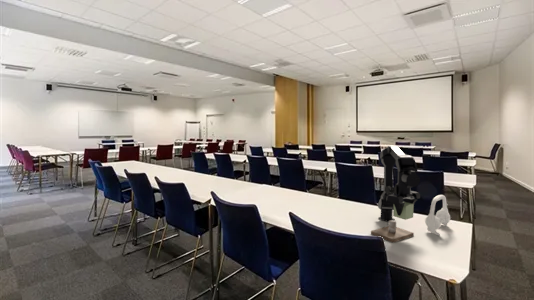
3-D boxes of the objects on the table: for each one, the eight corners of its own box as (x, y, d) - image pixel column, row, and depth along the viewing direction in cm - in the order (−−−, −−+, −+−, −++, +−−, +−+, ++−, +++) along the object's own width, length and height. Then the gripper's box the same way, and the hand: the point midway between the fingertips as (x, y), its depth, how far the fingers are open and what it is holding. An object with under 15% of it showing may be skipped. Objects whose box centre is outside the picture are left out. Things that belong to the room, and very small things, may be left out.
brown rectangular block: (391, 228, 139) (391, 215, 139) (413, 235, 129) (414, 222, 128) (370, 233, 131) (371, 220, 131) (392, 242, 121) (393, 228, 120)
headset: (437, 223, 147) (438, 191, 146) (452, 226, 141) (454, 193, 140) (423, 231, 134) (424, 197, 133) (439, 236, 129) (440, 200, 127)
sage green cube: (400, 213, 132) (401, 200, 131) (413, 217, 127) (413, 203, 126) (393, 216, 129) (393, 202, 128) (405, 219, 123) (406, 205, 123)
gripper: (399, 177, 138) (398, 207, 139) (377, 181, 128) (376, 212, 130) (421, 181, 129) (420, 212, 130) (398, 185, 119) (397, 219, 120)
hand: (402, 214), depth 128 cm, fingers closed on sage green cube, 6 cm apart
